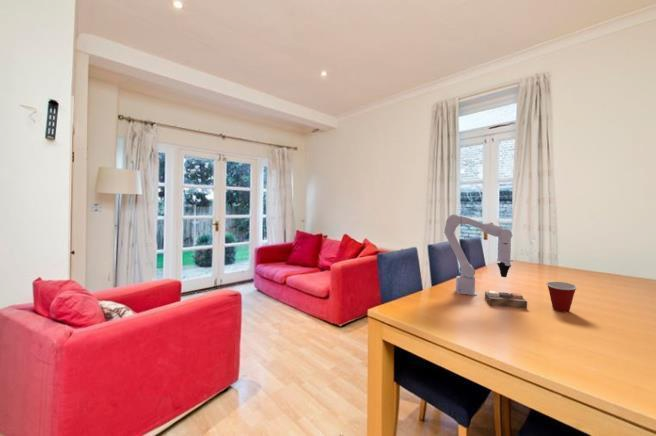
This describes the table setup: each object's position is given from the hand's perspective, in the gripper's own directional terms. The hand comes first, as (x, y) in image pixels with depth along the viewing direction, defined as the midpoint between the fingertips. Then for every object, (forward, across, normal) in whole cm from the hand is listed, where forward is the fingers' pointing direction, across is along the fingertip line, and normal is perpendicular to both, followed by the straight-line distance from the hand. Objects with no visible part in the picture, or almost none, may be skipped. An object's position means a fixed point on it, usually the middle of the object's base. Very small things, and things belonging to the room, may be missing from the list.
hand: (503, 276), depth 145 cm
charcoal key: (+9, -13, +3) cm, 15 cm away
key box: (+10, -12, +2) cm, 16 cm away
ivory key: (+8, -12, +7) cm, 17 cm away
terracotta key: (+9, -13, -2) cm, 15 cm away
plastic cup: (+11, -15, -19) cm, 26 cm away
